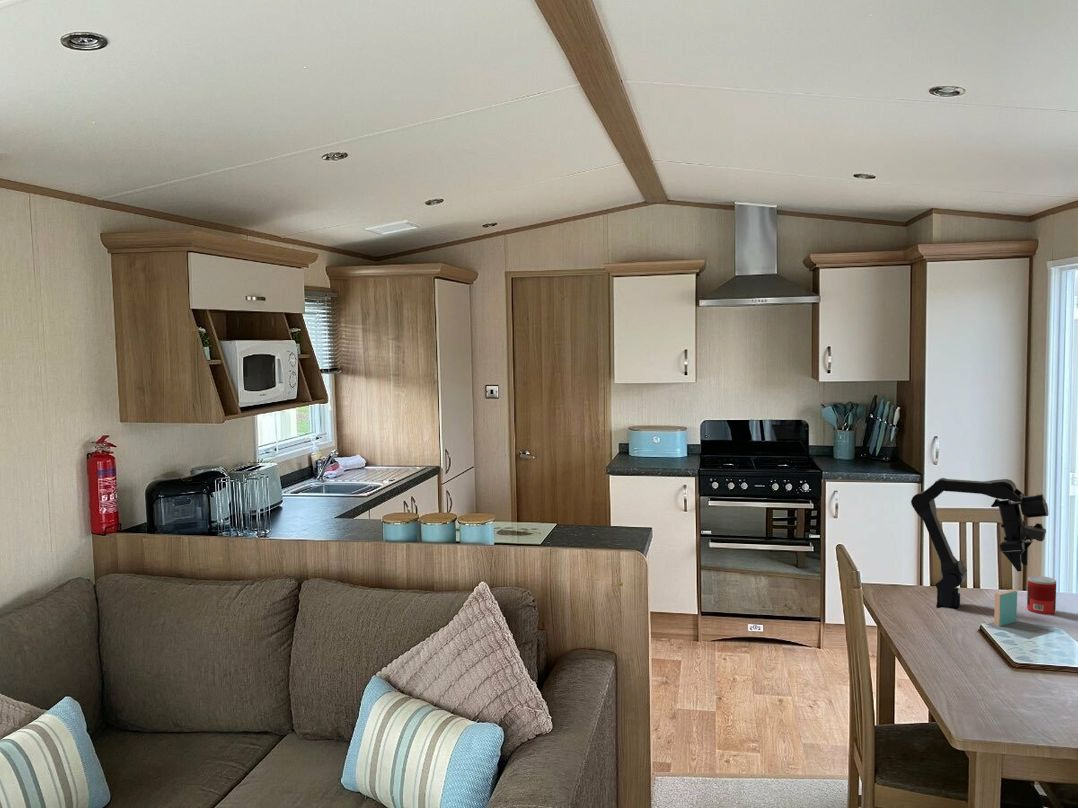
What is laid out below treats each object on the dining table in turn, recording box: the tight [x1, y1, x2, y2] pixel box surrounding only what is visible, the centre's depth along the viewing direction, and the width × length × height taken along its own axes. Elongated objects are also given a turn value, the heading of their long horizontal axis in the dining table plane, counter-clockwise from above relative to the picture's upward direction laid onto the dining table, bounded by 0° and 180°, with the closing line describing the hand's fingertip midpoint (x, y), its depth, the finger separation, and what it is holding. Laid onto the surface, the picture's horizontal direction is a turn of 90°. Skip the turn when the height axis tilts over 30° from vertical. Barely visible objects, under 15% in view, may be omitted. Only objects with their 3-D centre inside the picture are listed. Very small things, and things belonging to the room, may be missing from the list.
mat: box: [985, 619, 1054, 639], centre depth 258 cm, size 14×12×1 cm
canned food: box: [1026, 575, 1057, 616], centre depth 273 cm, size 8×8×11 cm
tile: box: [993, 588, 1018, 626], centre depth 262 cm, size 2×8×10 cm, turn 117°
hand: (1022, 568), depth 265 cm, fingers open, 9 cm apart
